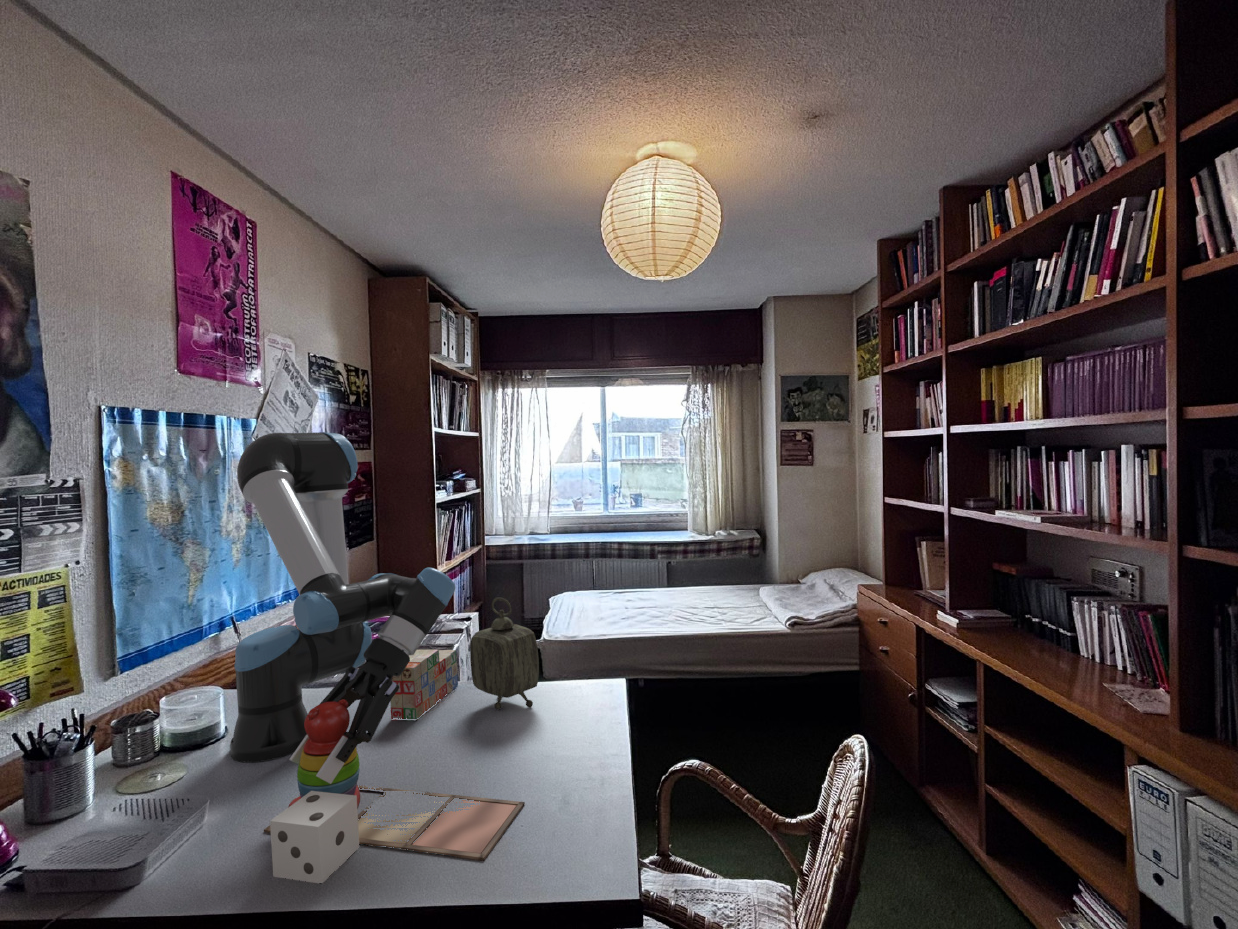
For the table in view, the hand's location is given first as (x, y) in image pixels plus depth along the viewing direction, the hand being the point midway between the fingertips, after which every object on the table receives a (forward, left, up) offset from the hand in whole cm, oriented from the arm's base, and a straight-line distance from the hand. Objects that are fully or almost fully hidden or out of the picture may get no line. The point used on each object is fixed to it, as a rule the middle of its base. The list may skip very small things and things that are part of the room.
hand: (309, 771), depth 103 cm
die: (+9, -9, -8) cm, 15 cm away
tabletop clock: (+12, +48, -8) cm, 50 cm away
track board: (+14, +3, -8) cm, 16 cm away
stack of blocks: (-9, +48, -8) cm, 49 cm away
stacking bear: (+1, +3, -8) cm, 9 cm away
